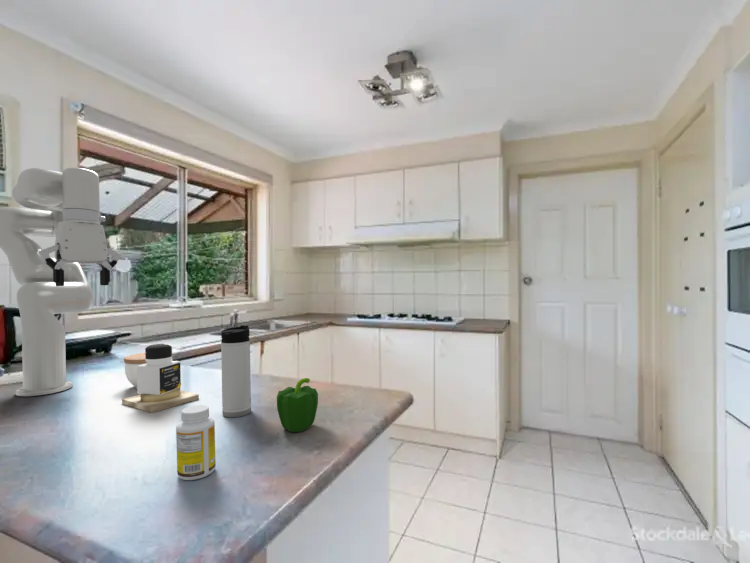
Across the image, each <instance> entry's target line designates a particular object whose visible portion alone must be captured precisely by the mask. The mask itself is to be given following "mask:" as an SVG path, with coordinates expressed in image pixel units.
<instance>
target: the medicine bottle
mask: <svg viewBox="0 0 750 563" xmlns="http://www.w3.org/2000/svg"><path fill="white" fill-rule="evenodd" d="M144 349H145V352H144V353H145V360H146V362H147V364H143V365H139V366H137V388H136V389H137V395H140V394H147V395H163V394H165V393H168V392H171V391H173V390H176V389H179V388H180V389H181V387H182V382H181V381H182V379H181V377H182V376H181V373H182V372H181V361H179V360H173V357H172V354H173V346H172V344H169V343H156V344H150V345H148V346H147V347H146V346H145V348H144ZM171 359H172V361H171Z"/></svg>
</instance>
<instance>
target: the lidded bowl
mask: <svg viewBox="0 0 750 563" xmlns="http://www.w3.org/2000/svg"><path fill="white" fill-rule="evenodd" d="M173 355H174V354H173V353H172V359H171V361H173ZM123 363H124V373H125V376H126V379H127V381H128V382H129V383H130V384H131V385H132V386H133V387H134V388H135V389H137V366H139V365H143V364H147V362H146V360H145V352H140V353H134V354H130V355H127V356H124V358H123Z"/></svg>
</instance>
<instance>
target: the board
mask: <svg viewBox="0 0 750 563" xmlns="http://www.w3.org/2000/svg"><path fill="white" fill-rule="evenodd" d="M199 399H200V398H199V394H197V393H194V392H189V391H185V390H181V387H180V388H179V389H176V390H173V391H171V392H168V393H165V394H163V395H147V394H137V395H134V396H128V397H126V398H122V399H121V400H122V401H121V404H122V405H126V406H130V407H131V408H134V409H139V410H140V411H141V410H142V411H143V412H149V413H151V414H153V413H156V412H159V411H163V410H167V409H169V408H174V407H176V406H177V407H178V406H179V405H183V403H184V404H187V403H190V401H191V402H194V401H197V400H199Z"/></svg>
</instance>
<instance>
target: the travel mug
mask: <svg viewBox="0 0 750 563" xmlns="http://www.w3.org/2000/svg"><path fill="white" fill-rule="evenodd" d="M220 334H221V335H220V337H221V339H220V344H221V347H220V349H221V350H220V351H221V353H220V354H221V357H220V358H221V395H222V396H221V398H222V399H221V404H222V405H221V408H222V411H221V412H222V416H224V417H226V418H239V417H240V418H241V417H244V416H246V415H249V414H250V413H251V412H252V388H251V387H252V386H251V383H252V381H251V377H252V376H251V344H250V342H251V341H250V340H251V339H250V327H249V325H245V324H243V325H240V326H234V327H230V328H226V329H223V330H221V332H220Z"/></svg>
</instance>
